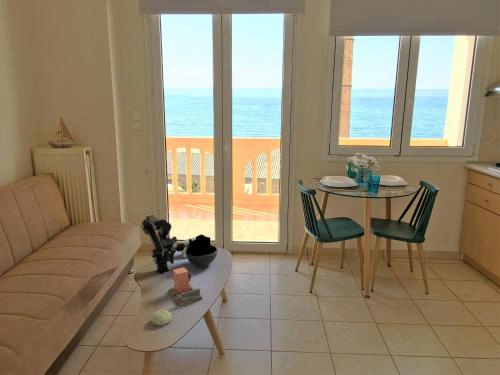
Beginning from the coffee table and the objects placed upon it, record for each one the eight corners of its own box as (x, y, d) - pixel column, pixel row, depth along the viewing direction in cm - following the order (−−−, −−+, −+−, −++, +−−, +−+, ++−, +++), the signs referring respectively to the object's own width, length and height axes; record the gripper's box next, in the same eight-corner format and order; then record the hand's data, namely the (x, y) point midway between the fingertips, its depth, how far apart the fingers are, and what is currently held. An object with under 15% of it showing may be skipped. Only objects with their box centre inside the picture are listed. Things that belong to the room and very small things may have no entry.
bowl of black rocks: (218, 257, 249) (217, 230, 244) (217, 271, 229) (215, 242, 225) (188, 259, 248) (186, 231, 244) (184, 272, 229) (181, 243, 224)
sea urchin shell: (176, 318, 178) (164, 311, 174) (166, 332, 177) (153, 326, 172) (168, 309, 186) (156, 302, 181) (158, 323, 184) (146, 317, 179)
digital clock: (183, 259, 248) (182, 244, 246) (177, 255, 256) (176, 240, 253) (205, 253, 257) (204, 238, 254) (199, 249, 264) (198, 234, 262)
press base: (168, 291, 207) (167, 281, 205) (188, 285, 213) (188, 275, 211) (180, 306, 192) (179, 295, 190) (202, 299, 198) (201, 289, 196)
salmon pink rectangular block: (174, 288, 206) (173, 270, 204) (185, 285, 209) (183, 267, 207) (178, 293, 201) (177, 274, 199) (189, 290, 204) (187, 271, 202)
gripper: (150, 236, 208) (158, 261, 201) (182, 229, 218) (191, 253, 211) (147, 245, 217) (155, 270, 210) (178, 238, 226) (187, 261, 219)
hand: (172, 263), depth 212 cm, fingers closed
